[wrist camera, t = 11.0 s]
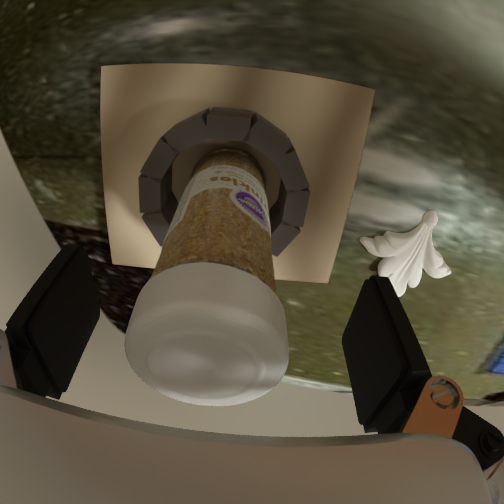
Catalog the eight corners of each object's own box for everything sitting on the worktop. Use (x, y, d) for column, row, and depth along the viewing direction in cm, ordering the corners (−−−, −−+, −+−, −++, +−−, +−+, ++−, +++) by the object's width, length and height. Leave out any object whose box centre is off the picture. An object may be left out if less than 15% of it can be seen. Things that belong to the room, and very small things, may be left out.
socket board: (366, 87, 17) (395, 95, 14) (323, 271, 25) (335, 310, 21) (111, 65, 16) (77, 68, 13) (118, 252, 24) (98, 289, 20)
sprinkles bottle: (278, 166, 19) (326, 347, 8) (243, 225, 21) (243, 422, 10) (208, 132, 18) (143, 281, 6) (178, 196, 20) (109, 383, 9)
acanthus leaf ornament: (446, 265, 26) (455, 277, 24) (381, 297, 28) (388, 311, 26) (432, 197, 22) (443, 208, 20) (356, 234, 24) (363, 248, 22)
